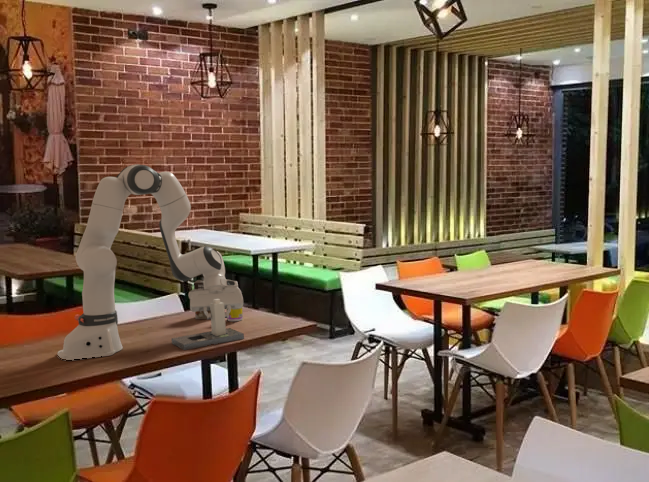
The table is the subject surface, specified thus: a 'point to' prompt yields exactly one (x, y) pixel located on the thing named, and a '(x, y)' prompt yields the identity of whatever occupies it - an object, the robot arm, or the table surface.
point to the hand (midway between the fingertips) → (218, 318)
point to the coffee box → (200, 314)
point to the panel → (206, 339)
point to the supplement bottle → (235, 315)
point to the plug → (217, 317)
